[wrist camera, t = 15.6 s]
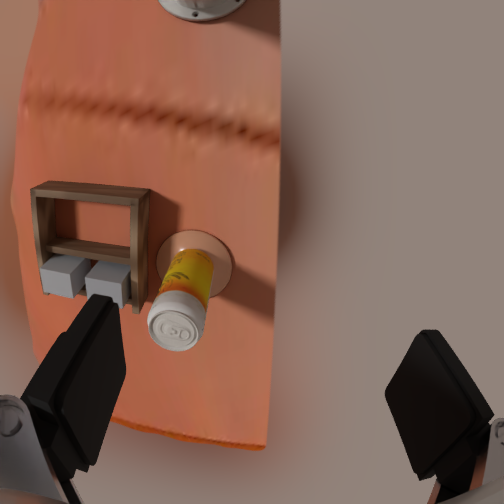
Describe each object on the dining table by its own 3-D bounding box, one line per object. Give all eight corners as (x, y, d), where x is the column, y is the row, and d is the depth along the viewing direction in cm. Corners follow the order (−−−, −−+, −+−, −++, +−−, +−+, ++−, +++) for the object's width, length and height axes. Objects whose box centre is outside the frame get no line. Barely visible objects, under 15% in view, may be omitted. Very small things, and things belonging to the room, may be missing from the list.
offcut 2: (103, 255, 44) (84, 277, 37) (136, 260, 44) (121, 283, 38) (105, 277, 45) (88, 301, 39) (137, 283, 46) (122, 308, 40)
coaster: (158, 224, 42) (157, 226, 41) (236, 235, 43) (236, 236, 42) (156, 291, 47) (155, 294, 46) (227, 301, 47) (226, 304, 47)
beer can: (178, 240, 42) (149, 300, 29) (219, 253, 43) (209, 319, 30) (168, 276, 45) (141, 343, 31) (207, 289, 46) (194, 360, 32)
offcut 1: (61, 248, 43) (39, 268, 37) (90, 252, 44) (69, 274, 37) (64, 270, 45) (43, 291, 38) (91, 275, 45) (73, 298, 39)
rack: (48, 180, 38) (30, 189, 34) (150, 188, 40) (138, 198, 35) (57, 279, 45) (43, 294, 41) (147, 295, 47) (139, 314, 42)
